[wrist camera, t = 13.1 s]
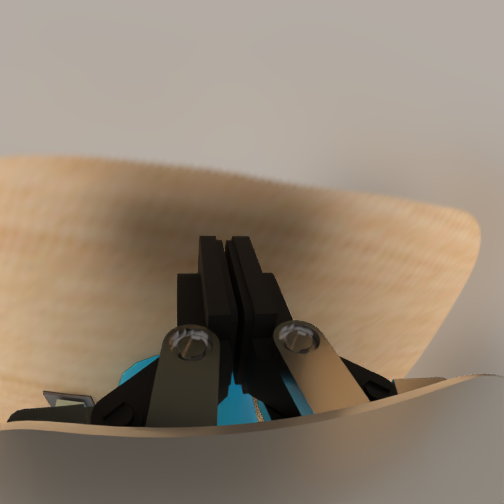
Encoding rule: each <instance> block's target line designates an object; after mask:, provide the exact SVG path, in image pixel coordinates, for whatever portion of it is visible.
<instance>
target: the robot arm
mask: <svg viewBox="0 0 504 504" xmlns="http://www.w3.org/2000/svg"><path fill="white" fill-rule="evenodd" d="M232 372H233V377H234V382H235V385H241V388H242V393H243V394H249V395H251V396H253V397H254V398H256V399H258V406H259V409H260V412H261V414H262V416H263V418H264V420H265V421H264V422H255V423H246V424H234V425H222V426H217V413H218V405H219V404H220V403H221V402H222V401H223V400H224V399H225V398H226V397H227V396H228V390H229V385H231V377H232ZM0 504H504V377H503V376H499V375H495V374H472V375H466V376H460V377H455V378H452V379H446V378H442V377H431V378H410V379H393V381H392V382H390V381H389V380H387V379H386V378H384V377H383V376H380V375H378V374H376V373H374V372H372V371H369V370H367V369H365V368H363V367H361V366H359V365H357V364H354V363H352V362H350V361H348V360H346V359H344V358H342V357H340V356H338V354H337V353H336V352H335V350H334V349H333V347H332V346H331V344H330V343H329V342H328V340H327V339H326V337H325V336H324V334H323V333H322V332H321V331H320V330H319V329H318V328H317V327H315V326H314V325H312V324H310V323H307V322H304V321H298V320H293V319H292V317H291V314H290V312H289V310H288V307H287V305H286V302H285V300H284V298H283V295H282V293H281V291H280V288H279V286H278V284H277V281H276V279H275V276H274V275H273V273H262V270H261V267H260V265H259V262H258V259H257V257H256V254H255V252H254V249H253V246H252V244H251V241H250V238H249V237H248V236H232V239H231V240H226V245H225V252H224V248H223V243H222V240H216V236H199V258H198V274H177V327H176V328H174V329H172V330H171V331H170V332H168V333H167V334H166V336H165V338H164V340H163V344H162V348H161V352H160V357H158V358H157V359H155V360H154V361H153V362H151V363H150V364H149V365H147V366H146V367H145V368H143V369H142V370H141V371H139V372H138V373H136V374H135V375H134V376H132V377H131V378H130V379H128V380H127V381H125V382H124V383H123V384H121V385H120V386H118V387H117V388H116V389H114V390H113V391H112V392H110V393H109V394H107V395H106V396H105V397H103V398H102V399H101V400H100V401H99V402H97V403H96V404H95V406H90V407H85V405H84V404H76V405H67V406H56V407H44V408H30V409H22V410H18V411H16V412H15V413H13V414H12V415H11V416H10V417H9V419H8V421H7V423H1V424H0Z"/></svg>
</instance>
